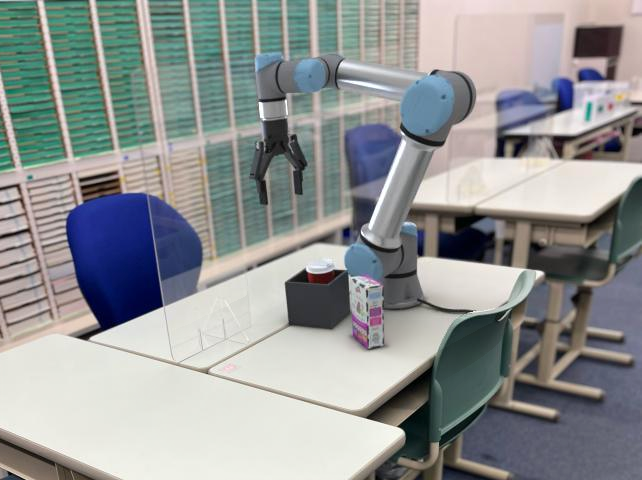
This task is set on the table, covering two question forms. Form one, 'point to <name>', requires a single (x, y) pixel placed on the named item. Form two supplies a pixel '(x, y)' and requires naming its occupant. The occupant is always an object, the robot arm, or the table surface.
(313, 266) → the coffee cup
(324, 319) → the trash bin
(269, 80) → the robot arm
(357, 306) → the candy bar box
